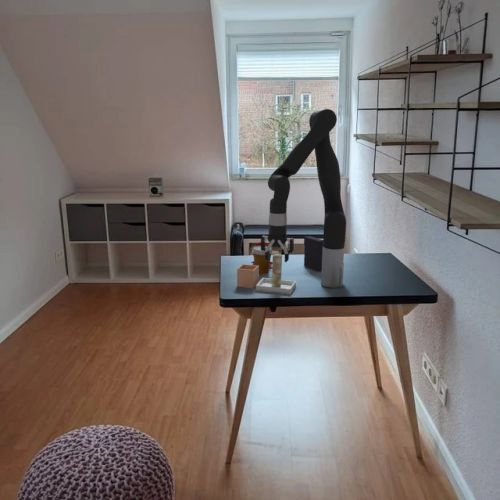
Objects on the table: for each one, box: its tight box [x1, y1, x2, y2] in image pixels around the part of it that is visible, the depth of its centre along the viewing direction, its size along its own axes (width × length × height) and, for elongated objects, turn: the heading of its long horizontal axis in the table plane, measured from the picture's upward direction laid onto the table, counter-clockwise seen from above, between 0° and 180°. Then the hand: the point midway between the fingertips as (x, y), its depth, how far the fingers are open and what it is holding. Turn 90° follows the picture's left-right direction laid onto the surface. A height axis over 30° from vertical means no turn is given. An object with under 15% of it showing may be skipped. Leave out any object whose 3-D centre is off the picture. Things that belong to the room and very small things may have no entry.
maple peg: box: [271, 253, 283, 288], centre depth 215 cm, size 4×4×14 cm
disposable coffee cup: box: [251, 245, 273, 275], centre depth 237 cm, size 10×10×12 cm
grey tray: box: [255, 277, 297, 296], centre depth 217 cm, size 15×11×2 cm
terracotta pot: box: [236, 263, 260, 289], centre depth 221 cm, size 8×8×8 cm
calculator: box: [303, 235, 323, 272], centre depth 245 cm, size 11×4×15 cm, turn 34°
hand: (276, 260), depth 214 cm, fingers open, 7 cm apart
